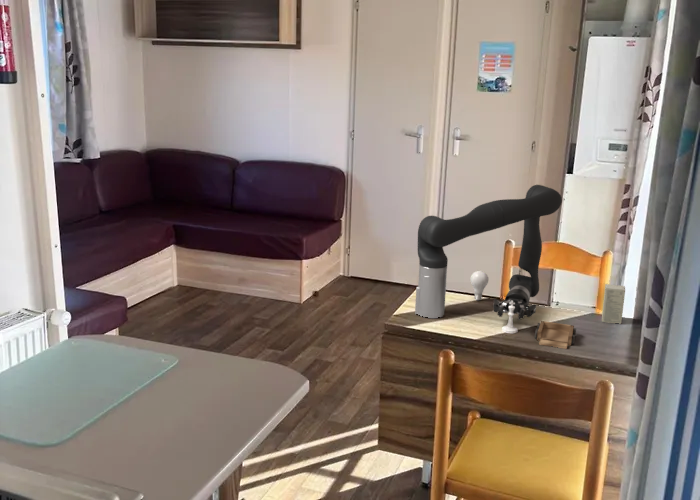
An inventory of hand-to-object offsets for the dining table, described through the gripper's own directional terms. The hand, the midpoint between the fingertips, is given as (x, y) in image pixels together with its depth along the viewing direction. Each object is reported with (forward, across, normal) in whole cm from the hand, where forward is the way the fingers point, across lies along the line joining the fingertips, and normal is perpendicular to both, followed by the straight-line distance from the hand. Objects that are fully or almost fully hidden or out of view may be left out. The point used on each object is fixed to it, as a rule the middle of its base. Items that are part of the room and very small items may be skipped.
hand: (510, 315), depth 213 cm
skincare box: (-26, +30, +6) cm, 40 cm away
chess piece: (-3, 0, +6) cm, 7 cm away
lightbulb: (-28, -15, +6) cm, 32 cm away
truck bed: (-1, +14, +6) cm, 15 cm away
